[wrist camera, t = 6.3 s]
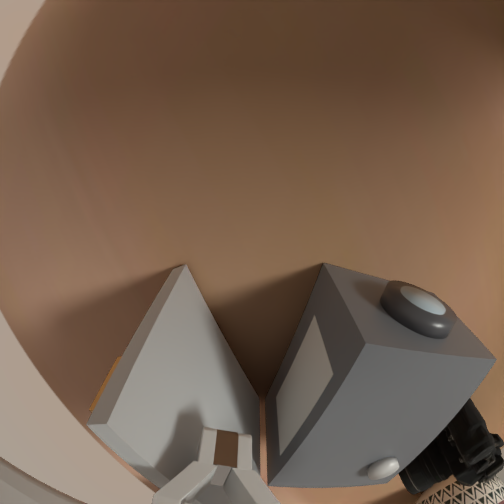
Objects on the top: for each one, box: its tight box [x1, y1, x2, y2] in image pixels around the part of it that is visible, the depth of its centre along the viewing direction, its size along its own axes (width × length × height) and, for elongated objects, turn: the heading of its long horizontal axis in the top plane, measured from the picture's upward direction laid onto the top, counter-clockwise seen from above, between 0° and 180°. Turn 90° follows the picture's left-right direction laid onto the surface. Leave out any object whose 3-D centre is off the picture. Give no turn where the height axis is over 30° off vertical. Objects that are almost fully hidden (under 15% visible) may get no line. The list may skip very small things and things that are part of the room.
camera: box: [399, 398, 504, 494], centre depth 20 cm, size 14×11×10 cm
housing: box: [265, 263, 497, 488], centre depth 16 cm, size 13×9×9 cm
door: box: [86, 264, 260, 504], centre depth 14 cm, size 13×2×12 cm, turn 22°
